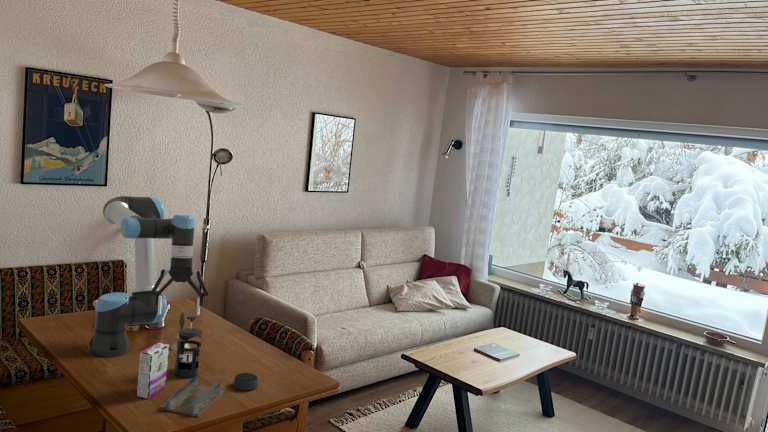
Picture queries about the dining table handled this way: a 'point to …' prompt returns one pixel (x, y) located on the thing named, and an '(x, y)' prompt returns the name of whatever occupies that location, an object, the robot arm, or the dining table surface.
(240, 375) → the smart speaker
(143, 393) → the candy bar box
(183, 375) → the french press
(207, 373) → the dining table surface
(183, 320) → the hand bell
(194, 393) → the sliding track
